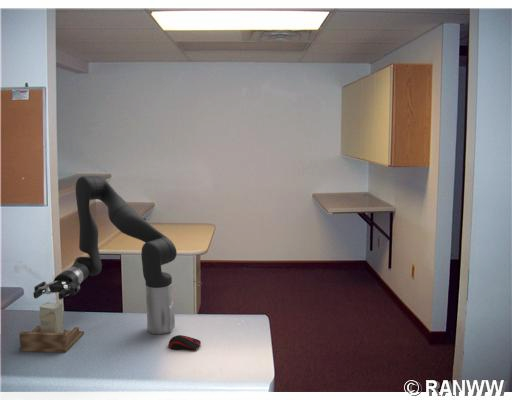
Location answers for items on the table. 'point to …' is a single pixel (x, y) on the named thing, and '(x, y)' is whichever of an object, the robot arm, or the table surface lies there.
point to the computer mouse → (184, 343)
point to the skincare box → (51, 318)
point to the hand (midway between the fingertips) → (47, 296)
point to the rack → (49, 340)
